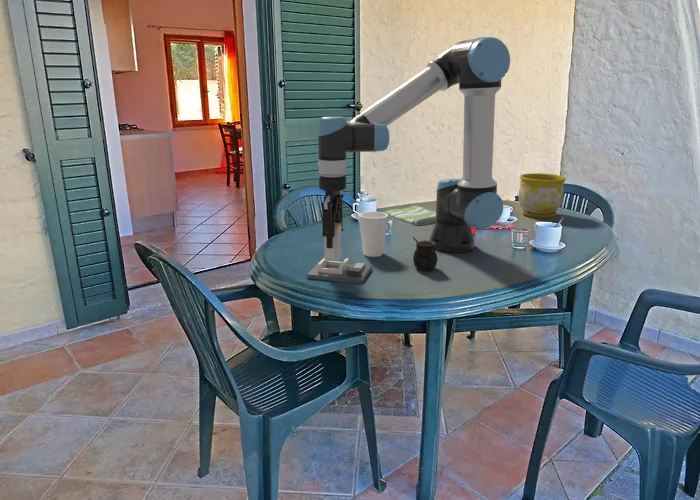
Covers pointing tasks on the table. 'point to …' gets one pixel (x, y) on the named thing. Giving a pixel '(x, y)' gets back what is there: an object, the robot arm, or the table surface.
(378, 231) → the foam cup
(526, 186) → the flowerpot
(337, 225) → the plug
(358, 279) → the board
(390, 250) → the table surface
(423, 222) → the dish towel
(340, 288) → the table surface
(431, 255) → the mate gourd
